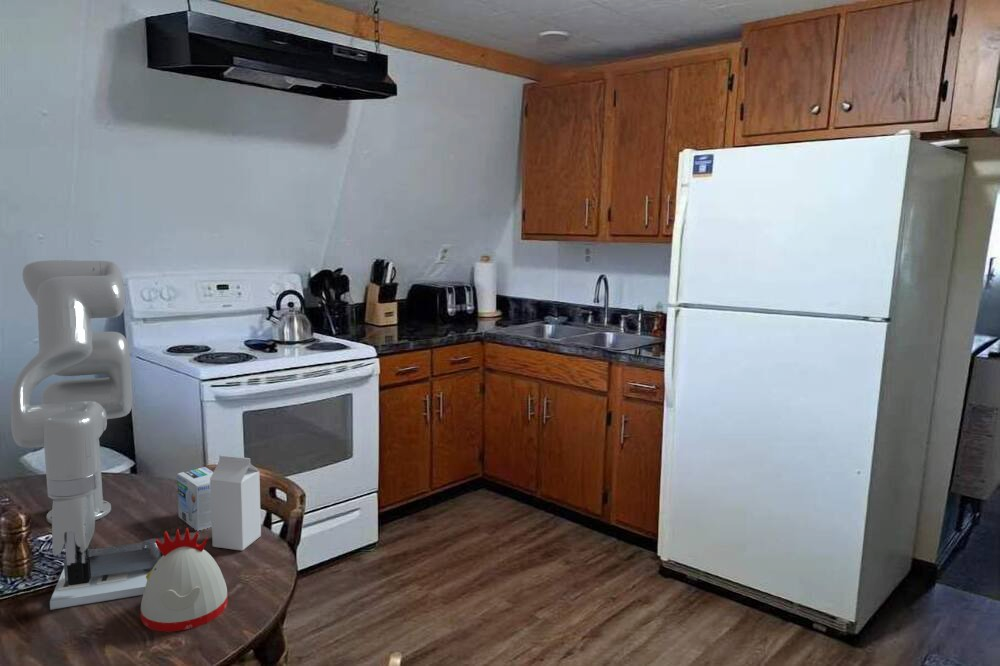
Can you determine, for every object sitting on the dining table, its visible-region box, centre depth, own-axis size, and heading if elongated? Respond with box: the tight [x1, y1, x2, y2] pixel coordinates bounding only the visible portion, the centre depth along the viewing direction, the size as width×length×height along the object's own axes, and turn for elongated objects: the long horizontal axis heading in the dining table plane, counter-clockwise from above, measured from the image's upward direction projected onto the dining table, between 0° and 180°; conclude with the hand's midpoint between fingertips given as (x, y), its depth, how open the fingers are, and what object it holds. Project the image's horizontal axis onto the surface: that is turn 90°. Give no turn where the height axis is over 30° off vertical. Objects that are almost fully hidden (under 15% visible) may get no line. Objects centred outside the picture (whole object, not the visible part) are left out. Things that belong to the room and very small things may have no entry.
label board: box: [49, 568, 149, 610], centre depth 128 cm, size 17×15×2 cm
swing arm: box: [63, 538, 162, 581], centre depth 127 cm, size 3×16×5 cm, turn 113°
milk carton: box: [210, 454, 262, 551], centre depth 143 cm, size 7×7×19 cm
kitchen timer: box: [140, 527, 228, 633], centre depth 118 cm, size 14×14×15 cm
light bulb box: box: [176, 466, 214, 532], centre depth 154 cm, size 11×7×11 cm, turn 47°
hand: (79, 581), depth 120 cm, fingers closed
